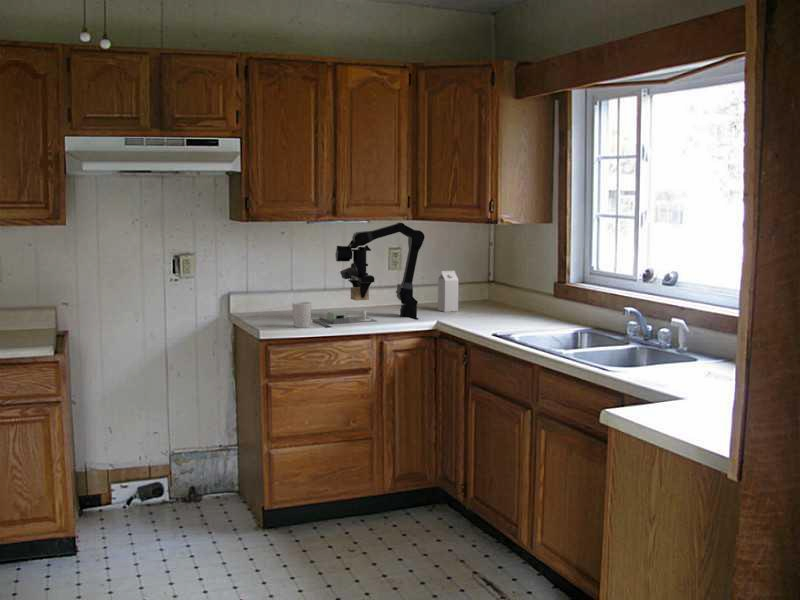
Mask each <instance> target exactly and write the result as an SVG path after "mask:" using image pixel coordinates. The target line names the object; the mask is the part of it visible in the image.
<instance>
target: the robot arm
mask: <svg viewBox="0 0 800 600" xmlns="http://www.w3.org/2000/svg"><path fill="white" fill-rule="evenodd" d="M398 233H400V234H402V235H403V236H405V237H408V238H407V244H408V252H407V258H406V261H405V262H406V263H405V268H404V273H403V277H402V281H401V283H400V284H399V283H397V285H396V291H395V293H396V298H397V299H398V300H399V301H400V302H401V305H400V309H399V311H400V312H399V313H400V316H399V317H401V318H409V319H412V320H419V317H418V316H417V314H418V312H417V311H418V303H419V302H418V300H417V299H415V297H414V288H413V287H414V286H413V280H414V274H415V271H416V265H417V260H418V255H419V252H420V250H421V247H422V246H423V243H424V241H425V237H426V236H425V234H424V233H423V232H422V231H421V230H418V229H413V228H411V227H410V226H408V225H406V224H404V223H403V222H396V223H394V224H391V225H388V226H383V227H380V228H377V229H373V230H366V231H365V230H364V231H357V232H354V233H353V235H352V239H351V241H350V242H349V244H348V245H336V249H335V261H336V262H351V261H350V260H352V262H351V263H350V267H347V268H345V269H342V270H340V272H339V273H340V276H341V279H343V280H348V282H349V283H350V284H351V285H352V287H360V292H361V298H364V297H365V294H366V292H367V290H368V288H369V287H370V286H371V285H372V284H373V283H375V276H374V275H372V274H371V275H370V274H369V272H367V267H368V266H369V263H367V252H371V251H372V248H370V247H369V246H368V245H367V244H369V243H371V242H373V241H374V240H376V239H381V238H384V237H386V236H390V235H395V234H398ZM369 289H370V288H369Z"/></svg>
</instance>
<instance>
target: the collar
mask: <svg viewBox="0 0 800 600" xmlns="http://www.w3.org/2000/svg"><path fill="white" fill-rule="evenodd" d="M350 300H353V301H357V302H358V301H370V288H368V290H367V292H366V294H365V297H364V298H361V292H360V287H353V286H352V287H350Z"/></svg>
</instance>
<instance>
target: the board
mask: <svg viewBox="0 0 800 600" xmlns="http://www.w3.org/2000/svg"><path fill="white" fill-rule="evenodd" d="M373 322H374V323H375V322H377V320H376V319H373V318H372V317H371V318H370V317H367V310H362V315H359V316H347V318H343V319H339V318H336V319H333V322H332V321H329V320H327V318H325V317H318V318H315V319H312V323H314V324H316V325H318V326H321V327H324V328H326V329H327V328H332V326H333V325H346V324H358V323H359V324H360V323H373ZM331 325H332V326H331Z"/></svg>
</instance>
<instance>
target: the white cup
mask: <svg viewBox="0 0 800 600" xmlns="http://www.w3.org/2000/svg"><path fill="white" fill-rule="evenodd" d="M291 306H292V307H291V308H292V321H293V327H294V328H296V329H297V328H299V329H302V328H303V329H305V328H310V327H311V318H312V317H311V316H312V315H311V314H312V302H310V301H294V302H292V305H291Z"/></svg>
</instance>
